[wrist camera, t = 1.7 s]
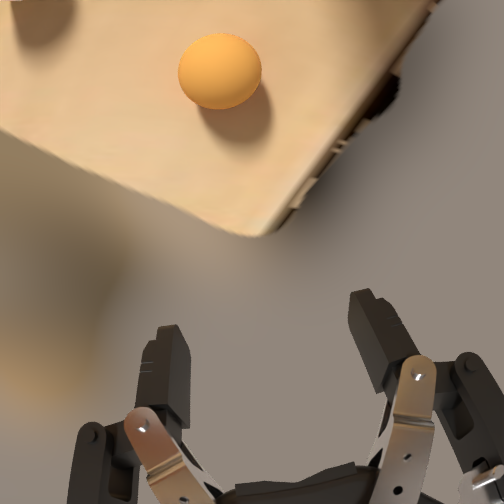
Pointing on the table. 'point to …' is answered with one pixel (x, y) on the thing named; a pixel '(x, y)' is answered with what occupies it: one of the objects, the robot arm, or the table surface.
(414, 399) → the robot arm
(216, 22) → the table surface
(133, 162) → the table surface
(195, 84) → the ball
